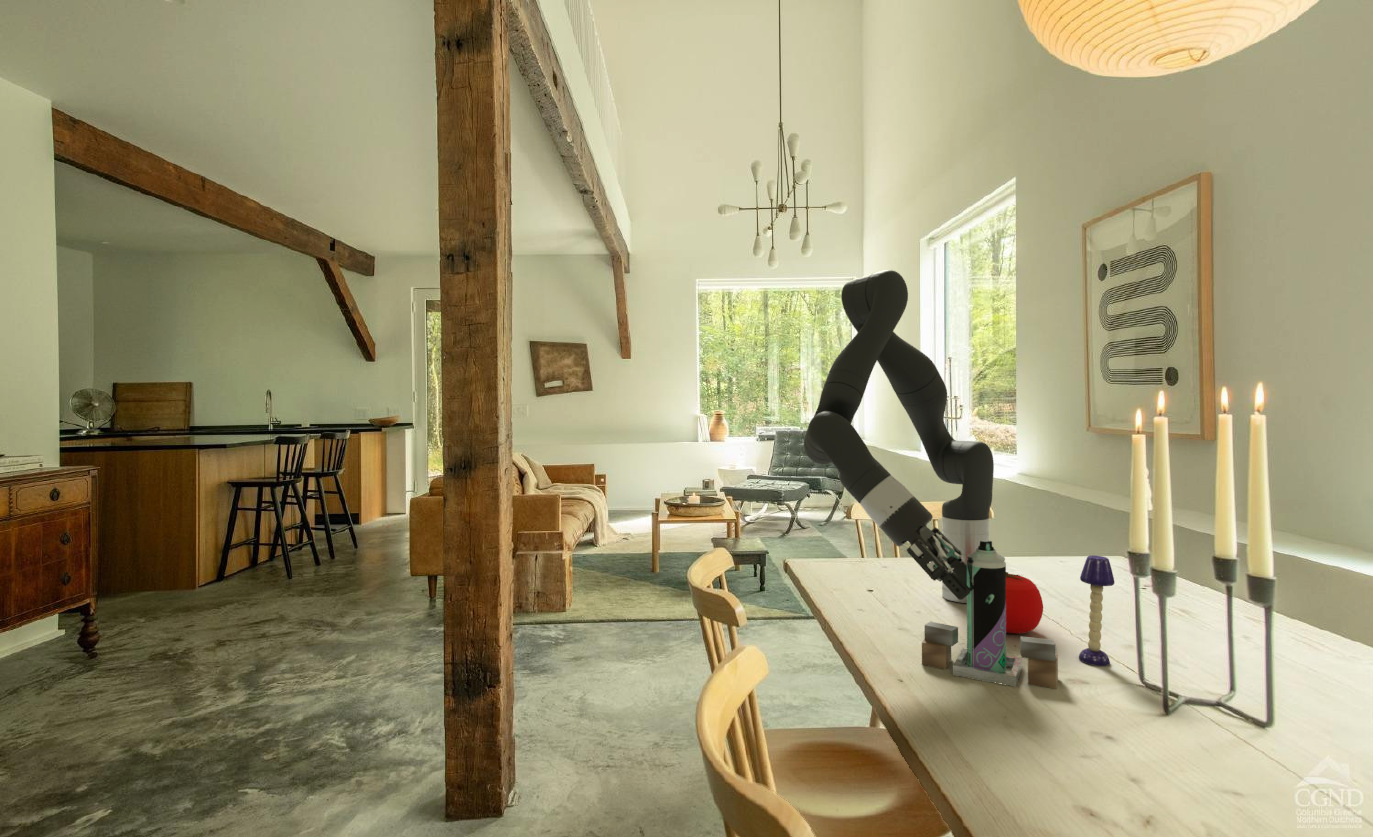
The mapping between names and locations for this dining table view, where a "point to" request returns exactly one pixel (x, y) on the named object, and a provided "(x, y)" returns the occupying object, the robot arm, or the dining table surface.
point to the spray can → (986, 609)
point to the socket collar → (988, 674)
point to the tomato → (1022, 604)
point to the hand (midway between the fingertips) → (970, 589)
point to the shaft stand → (1034, 649)
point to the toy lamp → (1096, 606)
